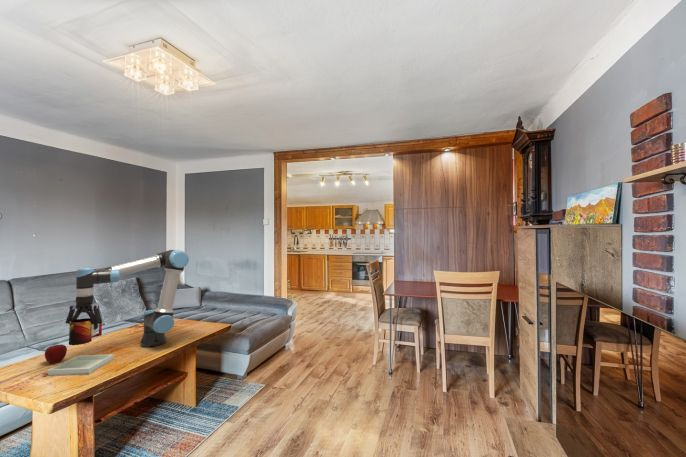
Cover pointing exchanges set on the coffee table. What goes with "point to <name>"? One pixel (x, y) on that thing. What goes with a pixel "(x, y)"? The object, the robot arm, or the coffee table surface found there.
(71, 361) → the tray
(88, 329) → the mug
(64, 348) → the apple
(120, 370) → the coffee table surface
